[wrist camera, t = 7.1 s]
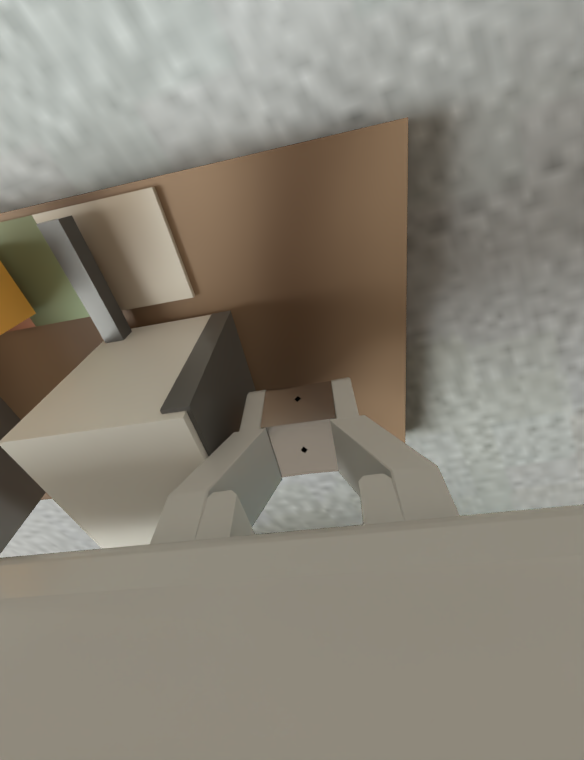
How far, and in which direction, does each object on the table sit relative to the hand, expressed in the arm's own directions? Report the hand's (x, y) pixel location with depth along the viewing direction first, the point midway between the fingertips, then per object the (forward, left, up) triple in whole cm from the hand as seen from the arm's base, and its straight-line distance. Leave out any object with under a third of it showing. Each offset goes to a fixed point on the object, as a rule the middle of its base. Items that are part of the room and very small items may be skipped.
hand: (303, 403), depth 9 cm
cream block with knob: (+5, -2, -2) cm, 5 cm away
